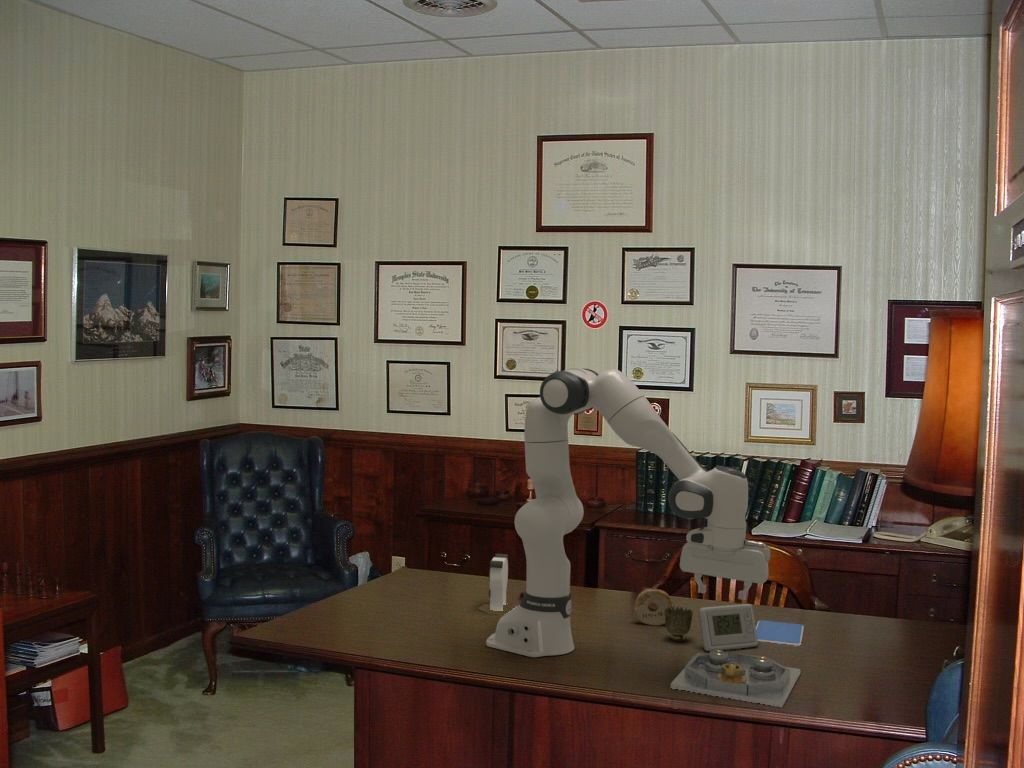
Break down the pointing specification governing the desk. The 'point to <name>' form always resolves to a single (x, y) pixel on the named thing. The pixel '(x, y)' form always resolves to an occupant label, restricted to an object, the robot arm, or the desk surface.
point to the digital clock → (728, 627)
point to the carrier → (762, 675)
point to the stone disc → (646, 612)
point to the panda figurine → (498, 581)
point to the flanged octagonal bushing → (732, 674)
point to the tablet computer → (779, 632)
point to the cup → (678, 622)
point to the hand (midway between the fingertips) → (721, 595)
